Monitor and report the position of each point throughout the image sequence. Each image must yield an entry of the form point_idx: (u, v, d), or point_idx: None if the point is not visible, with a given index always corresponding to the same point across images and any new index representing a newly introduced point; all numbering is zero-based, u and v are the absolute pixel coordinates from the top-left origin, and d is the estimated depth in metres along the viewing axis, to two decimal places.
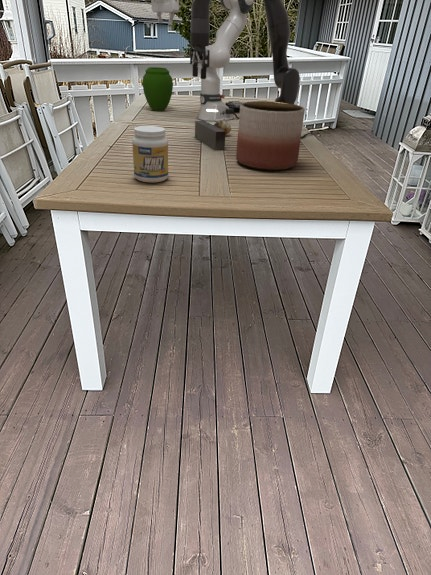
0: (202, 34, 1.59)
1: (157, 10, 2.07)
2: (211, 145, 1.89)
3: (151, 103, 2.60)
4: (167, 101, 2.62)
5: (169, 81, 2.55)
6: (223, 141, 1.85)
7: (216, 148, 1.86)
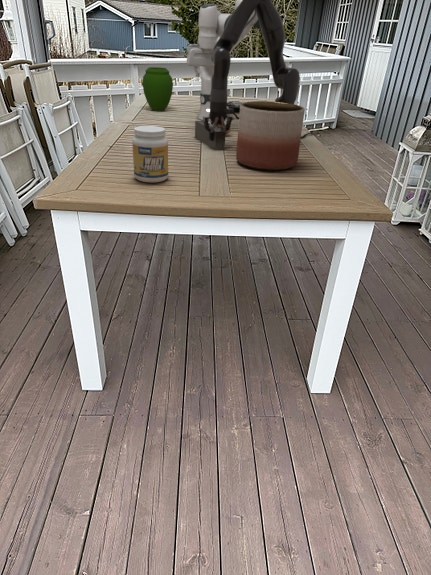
0: (210, 101, 1.78)
1: None
2: (211, 145, 1.89)
3: (151, 103, 2.60)
4: (167, 101, 2.62)
5: (169, 81, 2.55)
6: (223, 141, 1.85)
7: (216, 148, 1.86)
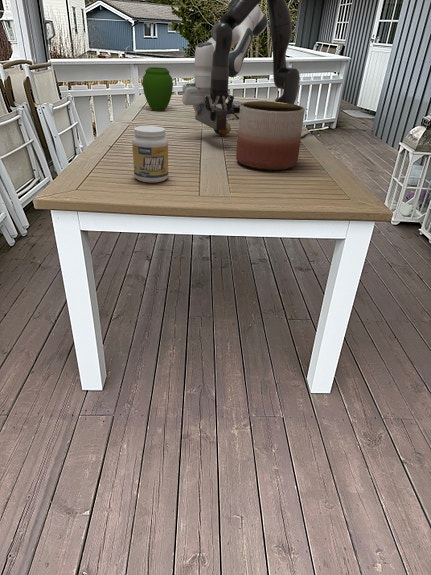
0: (211, 80, 1.74)
1: None
2: (212, 125, 1.84)
3: (151, 103, 2.60)
4: (167, 101, 2.62)
5: (169, 81, 2.55)
6: (224, 121, 1.81)
7: (217, 128, 1.81)
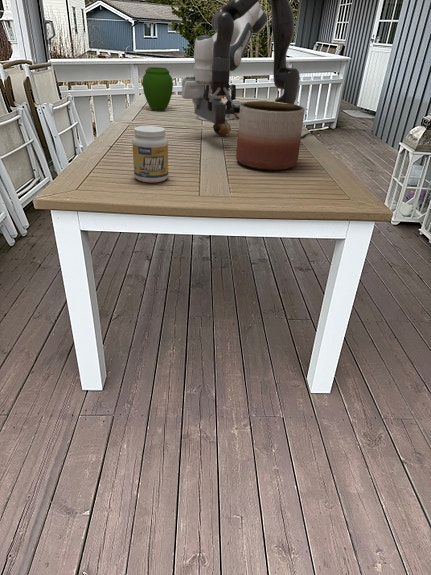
0: (212, 71, 1.71)
1: None
2: (211, 119, 1.83)
3: (151, 103, 2.60)
4: (167, 101, 2.62)
5: (169, 81, 2.55)
6: (223, 115, 1.79)
7: (216, 122, 1.80)
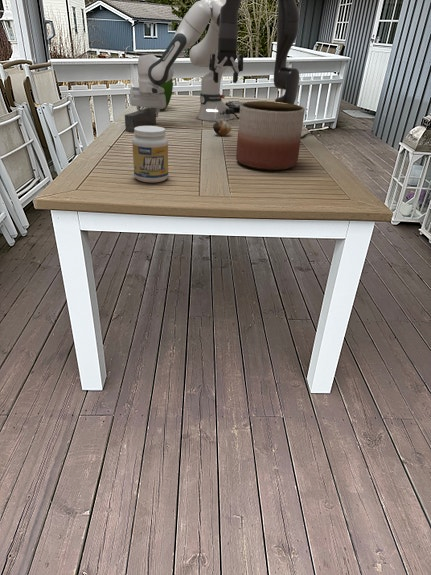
0: (218, 39, 1.61)
1: None
2: None
3: None
4: (167, 101, 2.62)
5: (169, 81, 2.55)
6: (132, 124, 2.07)
7: (126, 130, 2.10)
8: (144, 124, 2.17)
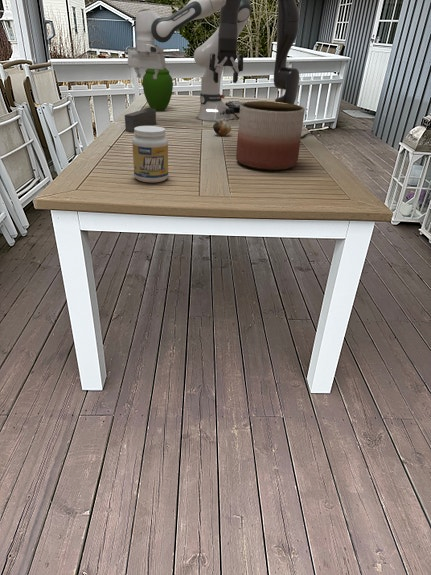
0: (218, 39, 1.61)
1: None
2: None
3: (151, 103, 2.60)
4: (167, 101, 2.62)
5: (169, 81, 2.55)
6: (132, 124, 2.07)
7: (126, 130, 2.10)
8: (144, 124, 2.17)
